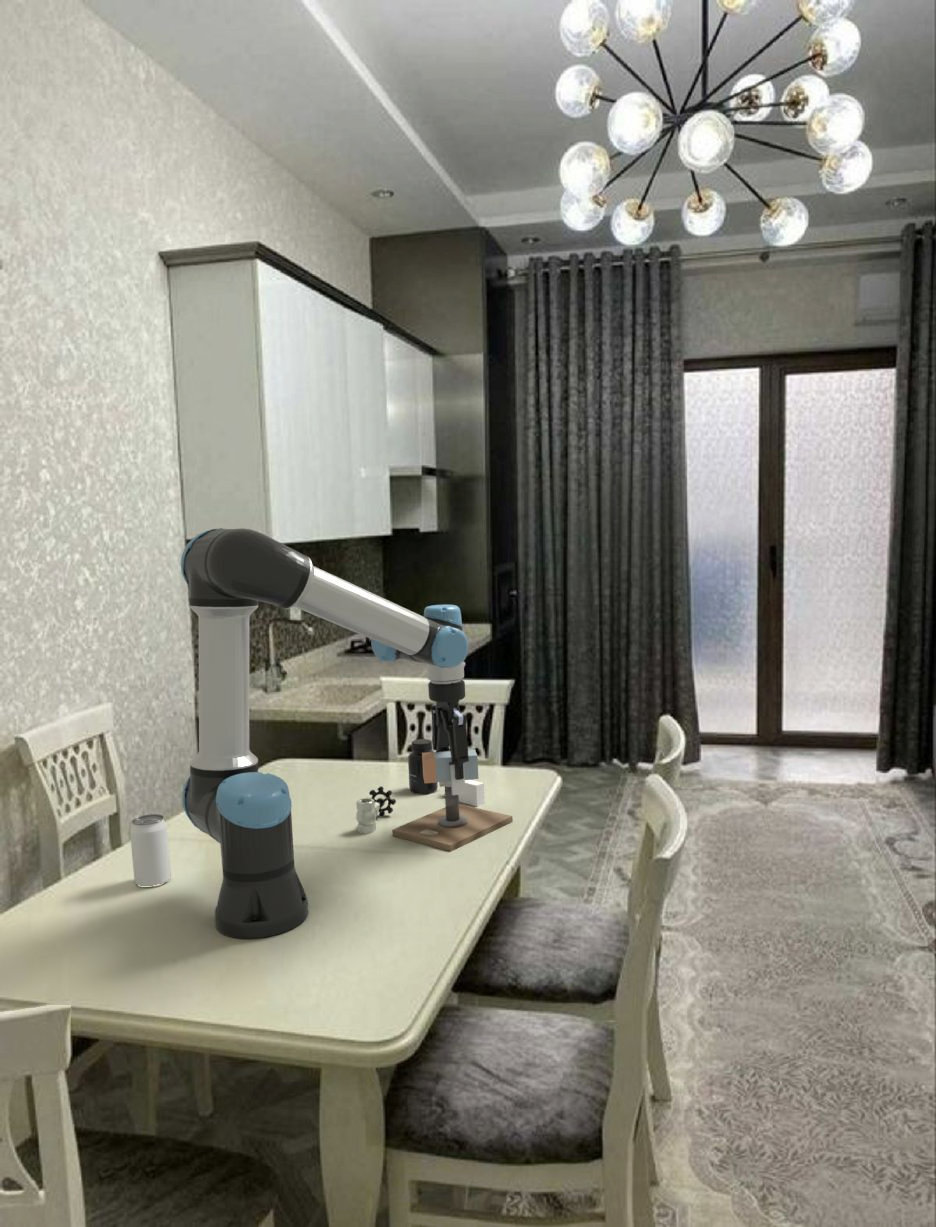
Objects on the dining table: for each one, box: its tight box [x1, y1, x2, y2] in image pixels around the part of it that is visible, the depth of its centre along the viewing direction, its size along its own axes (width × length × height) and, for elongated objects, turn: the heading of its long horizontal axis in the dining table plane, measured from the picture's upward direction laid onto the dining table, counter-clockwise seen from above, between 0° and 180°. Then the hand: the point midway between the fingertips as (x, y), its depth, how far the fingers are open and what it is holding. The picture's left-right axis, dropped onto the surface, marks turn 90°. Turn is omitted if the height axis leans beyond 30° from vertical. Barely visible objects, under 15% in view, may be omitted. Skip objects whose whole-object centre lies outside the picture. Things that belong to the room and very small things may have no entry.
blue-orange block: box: [422, 749, 479, 788], centre depth 189 cm, size 5×11×6 cm, turn 96°
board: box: [391, 786, 514, 852], centre depth 190 cm, size 20×16×9 cm
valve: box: [355, 786, 397, 835], centre depth 195 cm, size 7×7×12 cm
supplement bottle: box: [407, 738, 439, 795], centre depth 217 cm, size 7×7×12 cm
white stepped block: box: [458, 779, 486, 808], centre depth 210 cm, size 15×11×6 cm
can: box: [129, 813, 172, 886], centre depth 169 cm, size 6×6×12 cm
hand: (452, 789), depth 190 cm, fingers closed on blue-orange block, 6 cm apart
